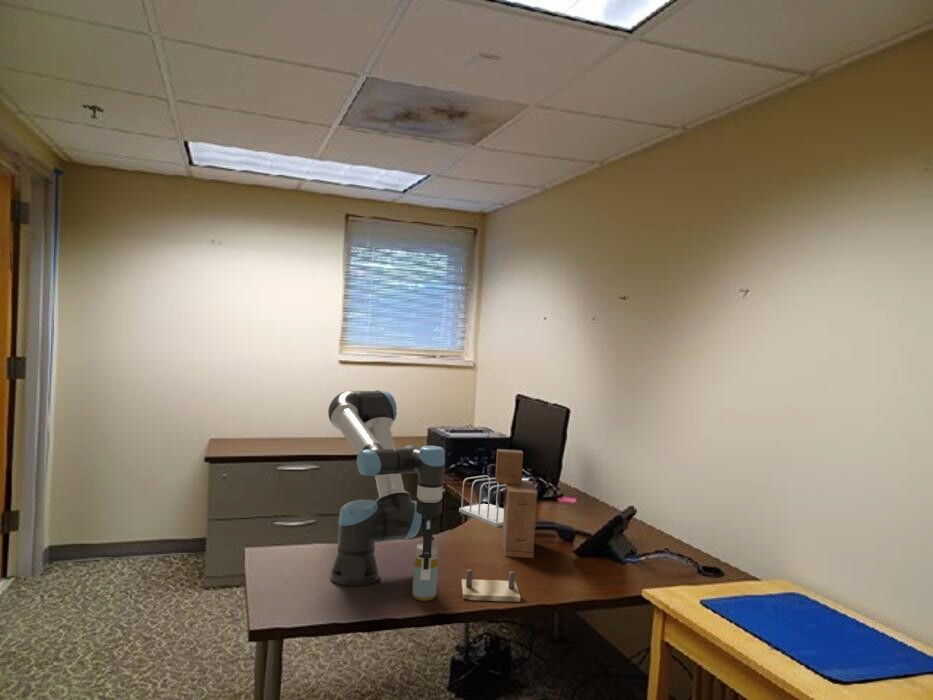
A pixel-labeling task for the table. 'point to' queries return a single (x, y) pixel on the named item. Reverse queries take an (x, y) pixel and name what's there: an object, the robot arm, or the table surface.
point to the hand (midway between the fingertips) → (425, 570)
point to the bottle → (425, 588)
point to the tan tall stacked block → (516, 504)
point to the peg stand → (490, 589)
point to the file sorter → (484, 506)
